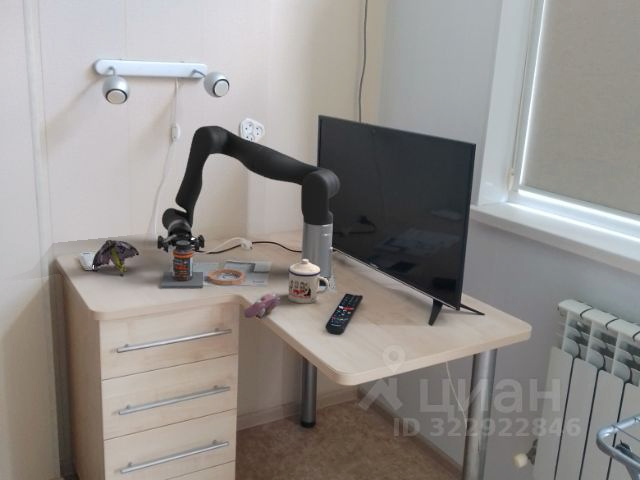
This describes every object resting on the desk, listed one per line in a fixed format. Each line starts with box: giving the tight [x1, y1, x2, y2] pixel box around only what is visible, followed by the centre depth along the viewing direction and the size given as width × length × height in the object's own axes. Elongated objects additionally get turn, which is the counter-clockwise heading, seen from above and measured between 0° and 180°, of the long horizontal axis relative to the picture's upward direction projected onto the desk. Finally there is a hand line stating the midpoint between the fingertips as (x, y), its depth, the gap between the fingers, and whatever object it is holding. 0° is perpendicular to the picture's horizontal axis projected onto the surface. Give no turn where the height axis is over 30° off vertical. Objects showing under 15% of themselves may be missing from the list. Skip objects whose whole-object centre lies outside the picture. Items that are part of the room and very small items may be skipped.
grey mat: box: [160, 271, 204, 289], centre depth 205 cm, size 12×12×1 cm
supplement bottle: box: [172, 241, 194, 281], centre depth 203 cm, size 6×6×11 cm
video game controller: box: [243, 293, 282, 319], centre depth 183 cm, size 10×5×7 cm, turn 145°
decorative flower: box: [91, 239, 140, 277], centre depth 208 cm, size 15×12×15 cm
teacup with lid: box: [288, 258, 330, 304], centre depth 195 cm, size 12×9×12 cm
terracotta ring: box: [207, 268, 246, 286], centre depth 209 cm, size 11×11×1 cm
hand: (181, 249), depth 205 cm, fingers open, 8 cm apart
